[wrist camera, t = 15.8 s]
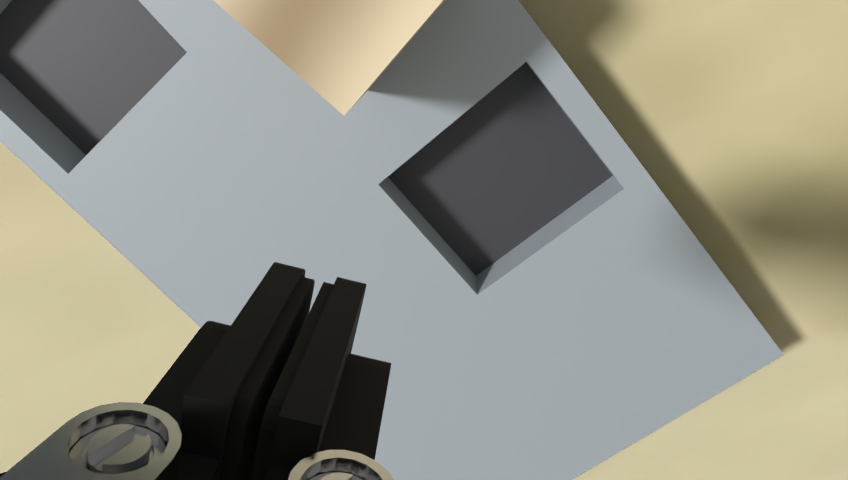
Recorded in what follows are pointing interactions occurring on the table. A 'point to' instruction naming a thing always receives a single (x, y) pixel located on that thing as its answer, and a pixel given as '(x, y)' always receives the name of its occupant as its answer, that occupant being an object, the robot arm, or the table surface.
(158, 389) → the robot arm
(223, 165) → the trap deck
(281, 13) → the beech block
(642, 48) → the table surface
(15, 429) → the table surface
